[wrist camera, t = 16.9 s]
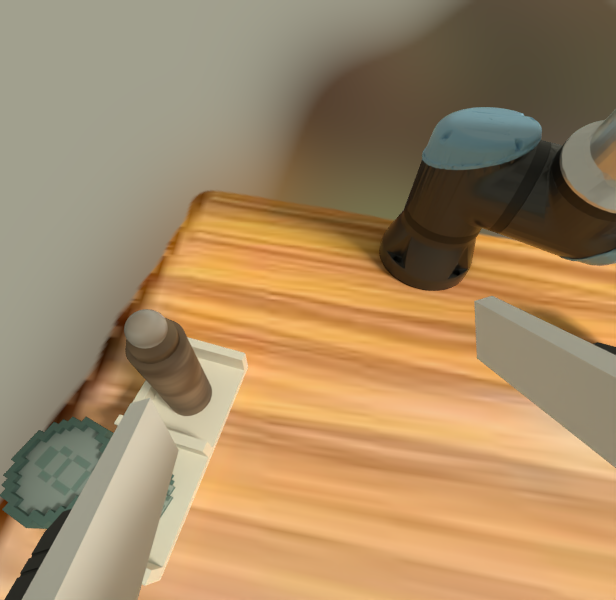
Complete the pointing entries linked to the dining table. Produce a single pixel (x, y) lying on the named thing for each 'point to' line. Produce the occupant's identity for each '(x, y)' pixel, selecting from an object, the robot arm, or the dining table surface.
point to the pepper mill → (167, 361)
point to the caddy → (192, 443)
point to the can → (55, 471)
